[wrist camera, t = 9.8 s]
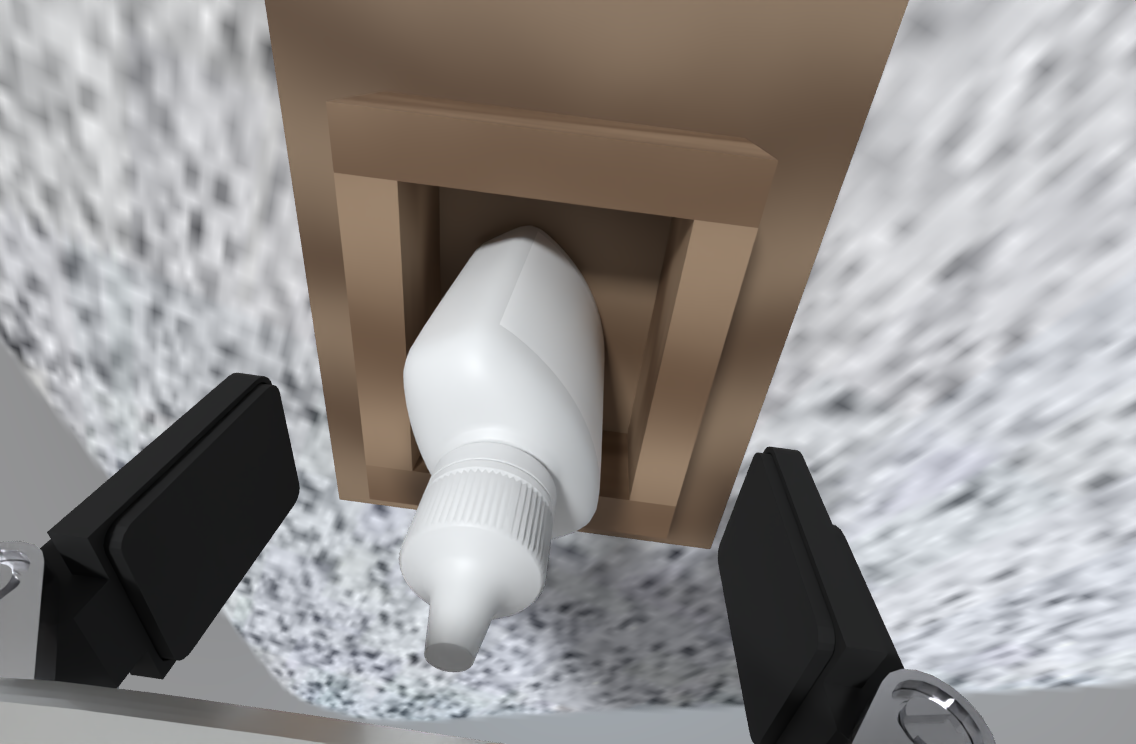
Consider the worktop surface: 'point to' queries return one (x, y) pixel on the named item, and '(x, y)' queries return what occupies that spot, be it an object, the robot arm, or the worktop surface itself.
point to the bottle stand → (575, 206)
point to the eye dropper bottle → (501, 436)
